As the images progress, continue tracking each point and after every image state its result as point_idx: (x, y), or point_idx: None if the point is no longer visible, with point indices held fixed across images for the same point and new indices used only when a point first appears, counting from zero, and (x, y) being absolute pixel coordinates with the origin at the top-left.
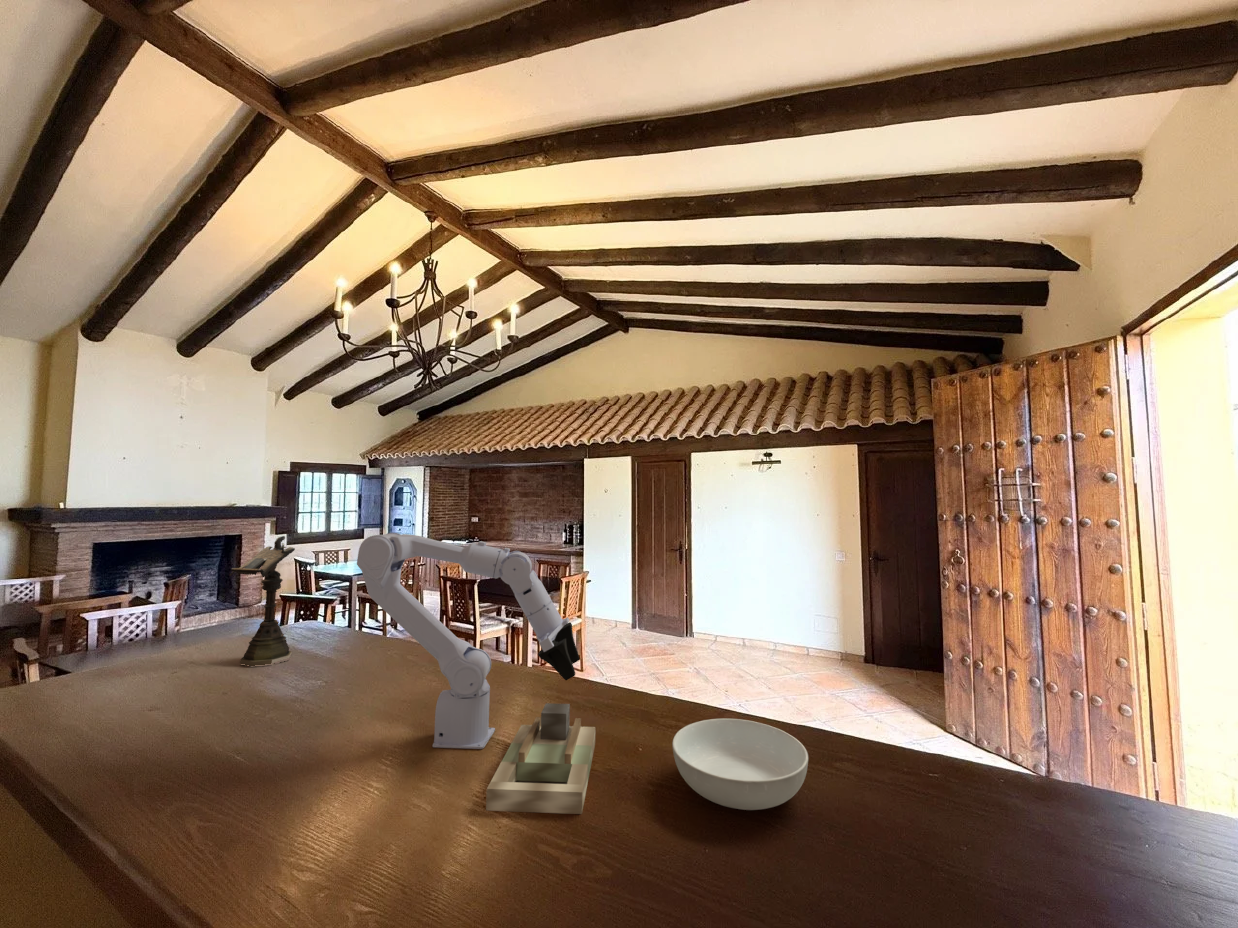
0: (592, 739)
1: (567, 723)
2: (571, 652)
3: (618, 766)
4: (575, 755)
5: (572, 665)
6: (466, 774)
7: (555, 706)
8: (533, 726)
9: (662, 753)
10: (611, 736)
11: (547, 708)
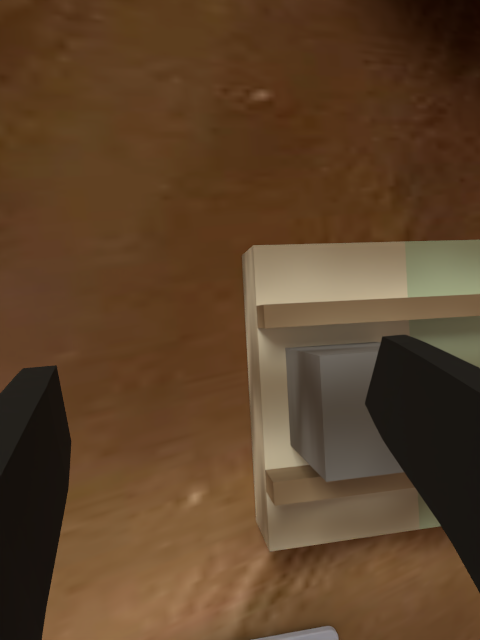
0: (359, 244)
1: (359, 346)
2: (39, 476)
3: (380, 166)
4: (474, 286)
5: (451, 365)
6: (470, 598)
7: (358, 421)
8: (367, 485)
9: (283, 21)
10: (177, 201)
11: (387, 453)
